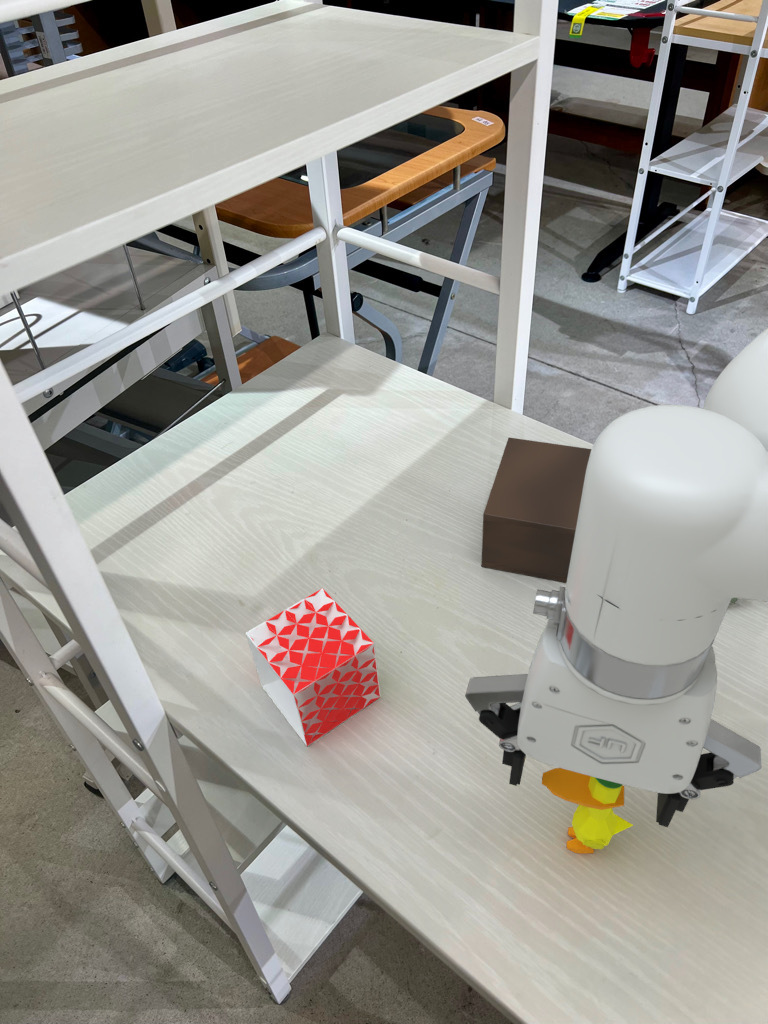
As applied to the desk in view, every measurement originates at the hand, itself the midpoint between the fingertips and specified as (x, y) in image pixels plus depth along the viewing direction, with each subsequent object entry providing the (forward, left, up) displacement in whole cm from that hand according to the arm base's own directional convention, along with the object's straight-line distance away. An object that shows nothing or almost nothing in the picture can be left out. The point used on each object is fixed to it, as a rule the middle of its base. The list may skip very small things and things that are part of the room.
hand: (588, 785), depth 51 cm
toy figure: (0, 0, -9) cm, 9 cm away
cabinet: (+6, -32, -9) cm, 34 cm away
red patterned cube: (+24, -7, -9) cm, 26 cm away
